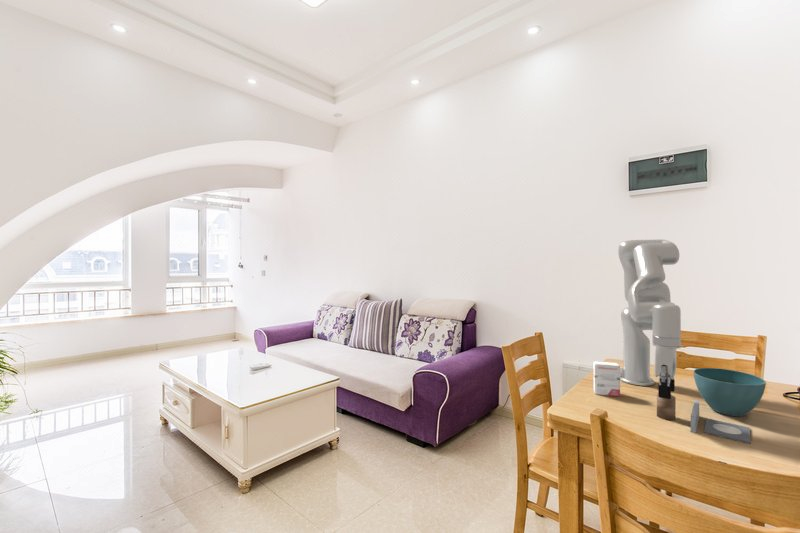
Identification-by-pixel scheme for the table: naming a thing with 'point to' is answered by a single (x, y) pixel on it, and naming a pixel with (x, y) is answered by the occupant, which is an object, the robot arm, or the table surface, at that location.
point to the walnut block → (666, 408)
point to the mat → (727, 430)
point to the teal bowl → (729, 390)
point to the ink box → (606, 378)
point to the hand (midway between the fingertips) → (666, 394)
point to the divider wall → (695, 416)
